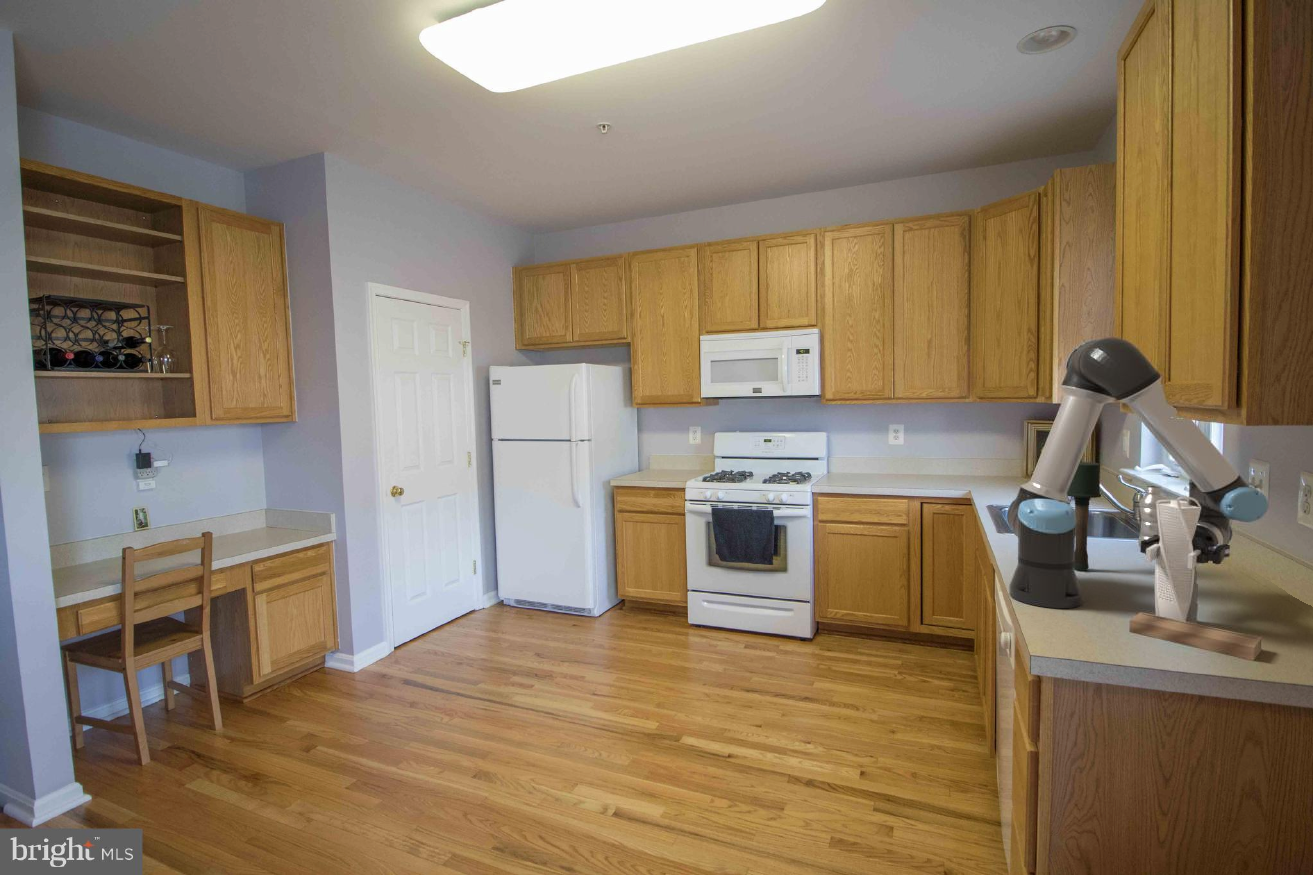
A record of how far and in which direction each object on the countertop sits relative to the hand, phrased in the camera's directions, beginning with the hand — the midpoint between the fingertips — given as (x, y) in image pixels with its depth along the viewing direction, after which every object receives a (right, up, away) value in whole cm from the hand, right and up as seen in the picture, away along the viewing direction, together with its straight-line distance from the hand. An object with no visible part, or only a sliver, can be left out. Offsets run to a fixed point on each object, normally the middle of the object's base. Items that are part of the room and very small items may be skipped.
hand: (1168, 558), depth 131 cm
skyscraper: (+4, -15, +4) cm, 16 cm away
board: (0, -15, -5) cm, 16 cm away
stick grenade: (+11, -12, +44) cm, 47 cm away
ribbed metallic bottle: (+45, -10, +62) cm, 77 cm away
